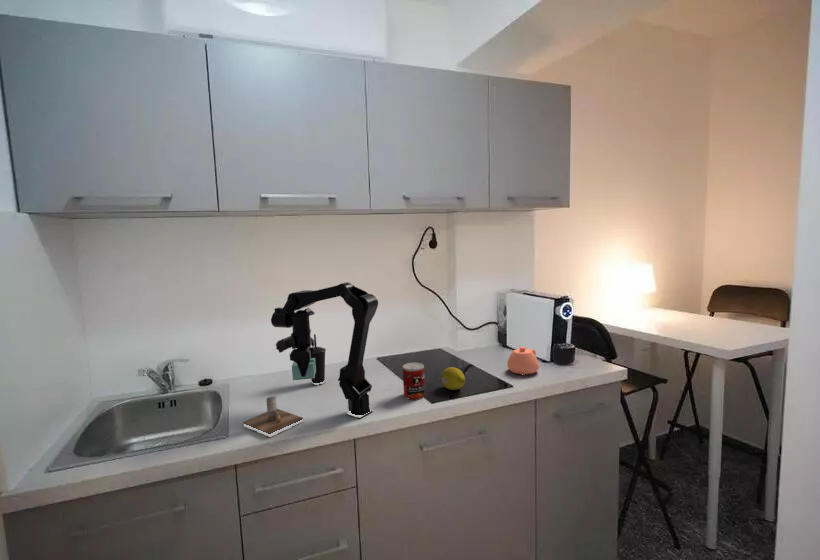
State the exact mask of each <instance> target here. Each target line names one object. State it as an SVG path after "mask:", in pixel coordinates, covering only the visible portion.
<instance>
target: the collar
mask: <svg viewBox="0 0 820 560" xmlns="http://www.w3.org/2000/svg"><path fill="white" fill-rule="evenodd" d="M291 371H292V381H300V380H311V379H313V378H315V374H316V364H315V358H310V362H309V365H308V368H307V372H306V375H305V377H302V376H301V373H300V370H299V367H298V365H297V363H296V362H294V361H292V364H291Z"/></svg>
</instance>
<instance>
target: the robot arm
mask: <svg viewBox="0 0 820 560" xmlns="http://www.w3.org/2000/svg"><path fill="white" fill-rule="evenodd" d="M287 296H288V297H287V299H286V302H285V304H284V305H283V307H280V306H279V307H275V308H274V312H273V313H272V315H271V318H270V323H271V325H272V327H274V328H282V329H283V328H285V329H286V328H287V329H288V328H289V329H290V328H292V332H291V334H290V336H286V337H284V338H281V339H279V340H277V342H276V343H275V346H276V348H275V349H276V351H278V352H279V353H283V352H284V351H286V350H288V349H292V350H291V352H290V353H289V361H291V362H296V363H297V365H298V367H299V370H300V373H301V376H302V377H305V375H306V372H307V368H308V365H309V362H310V358H311V356H312V352H313V349H314V347H315V343H314V338H313V337H311V332H312V330H311V325H310V324H311V323H310V316H313V315H315V312H314V310H311V308H310V306H311V305H314V304H315V303H317V302H321V301H325V300H330V299H333V298H338V297H341V298H342V299H343V301H344V302H345V304H346V305H347V306H349V307H350V308H351V316H352V319H353V321H354V324H353V330H352V334H351V335H352V336H351V340H350V341H351V342H350V347H349V348H350V349H349V353H348V354H349V355H348V360H347V363H346V365H344V366H343V367H341V368H340V369H339V377H338V379H337V381H338V384H339V387H340V388H341V390H342V394H343V396H344V398H345V400H347V406H348V411H351V413H352V414H355V415H364V414H366V413H368V412H370V409H371V408H370V397H369V396H370V395H369V394H368V393H369V392H371V390H372V388H373V385H372V384H371V383H370V381H369V380H368V379H367V378H366V371H365V368H364V365H363V363H364V357H365V354H366V353H365V351H366V345H367V340H368V334H369V330H370V323H371V322H372V320H373V318H374V316H375V315H376V312H377V309H378V307H379V300H378V299H377V297H376V296H375V295H374V294H372V293H368V292H367V291H365V290H363V289H361V288H360V287H357V286H355V285H354V284H352V283H350V282H342V283H340V284H338V285H334V286H330V287H325V288H320V289H317V290H299V291H294V292H291V293H289V294H288V295H287ZM311 346H312V347H311Z"/></svg>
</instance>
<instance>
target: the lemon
mask: <svg viewBox="0 0 820 560" xmlns="http://www.w3.org/2000/svg"><path fill="white" fill-rule="evenodd" d="M440 377H441V383H442V384H443V386H444V387H445V388H446V389H448V390H451V391H456V390H460V389H461V388H462V387H464V385H465V383H466V377H465V374H464V373H463V371H461V370H460V369H459V368H457V367H453V366H451V367H447V368H446V369H444V370H443V371H442V374H441V376H440Z"/></svg>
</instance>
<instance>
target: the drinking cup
mask: <svg viewBox="0 0 820 560" xmlns="http://www.w3.org/2000/svg"><path fill="white" fill-rule="evenodd" d="M316 336H317V335H316V333H314V334H313V339H314V349H313V352H312V356H311V358H315V364H316V374H315V378H313V379H310V380H311V383H312V382H313V383H320V382H323V381H324V380H325V379H326V378H325V377H326V376H325V375H326V373H325V371H326V348H325V347H322V346H317V337H316ZM325 381H326V380H325Z"/></svg>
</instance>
